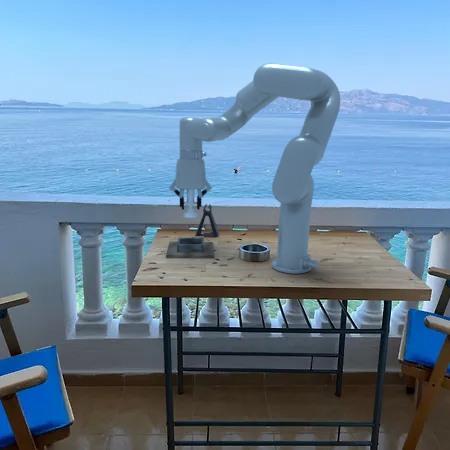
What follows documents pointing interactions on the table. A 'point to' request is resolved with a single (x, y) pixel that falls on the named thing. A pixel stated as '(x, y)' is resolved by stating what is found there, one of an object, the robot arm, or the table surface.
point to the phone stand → (212, 222)
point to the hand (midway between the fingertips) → (190, 208)
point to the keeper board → (190, 248)
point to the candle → (190, 205)
